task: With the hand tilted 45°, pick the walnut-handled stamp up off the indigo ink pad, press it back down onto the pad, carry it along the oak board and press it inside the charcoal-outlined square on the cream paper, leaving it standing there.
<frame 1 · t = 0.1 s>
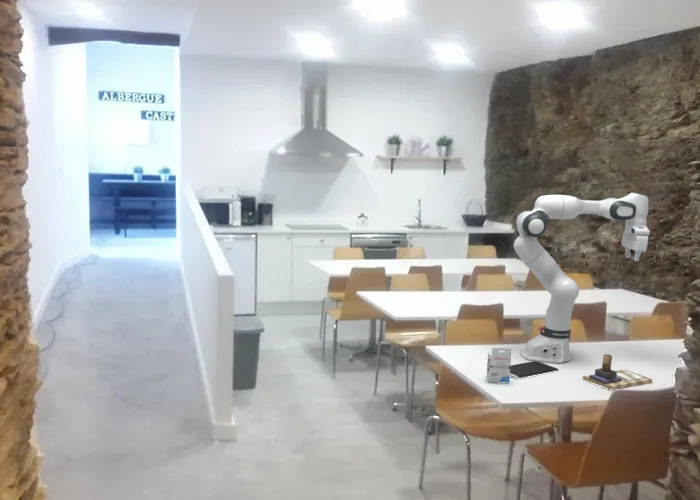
hand: (632, 259, 315), 48 cm above the table, tool pointing down, fingers open, 8 cm apart
ink box: (497, 381, 285), on the table
black flat rectangular slab: (526, 372, 301), on the table
stamp: (605, 376, 289), point 3 cm above the table, touching stamp board
stamp board: (617, 381, 293), on the table
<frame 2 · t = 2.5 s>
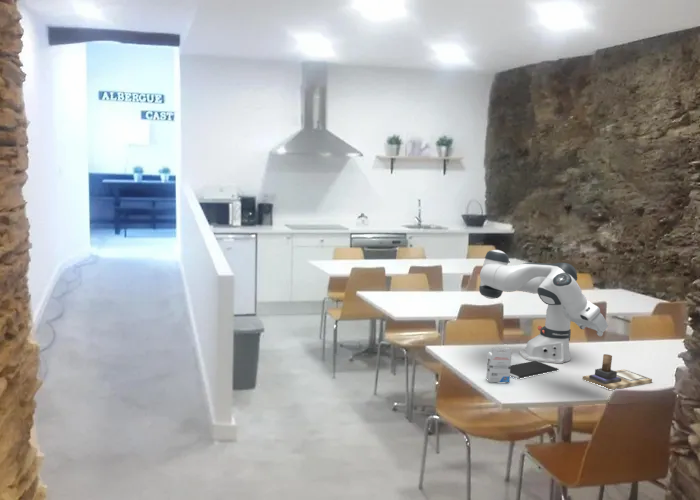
hand: (591, 331, 279), 24 cm above the table, tool tilted 40°, fingers open, 8 cm apart
nothing on the table moved.
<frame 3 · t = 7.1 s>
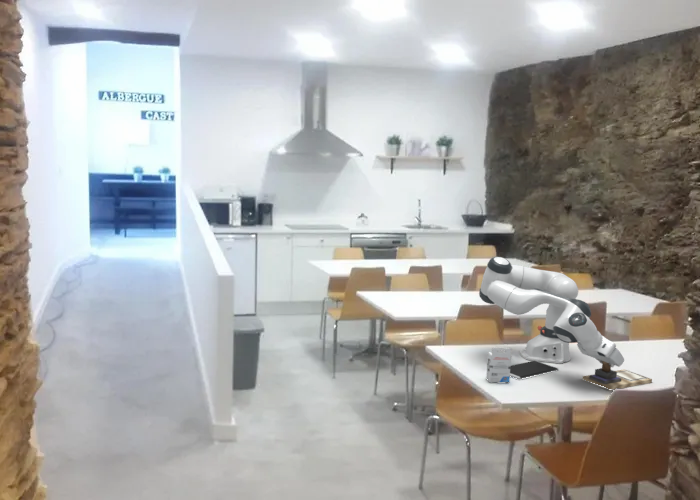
hand: (607, 364, 288), 8 cm above the table, tool tilted 45°, fingers closed on stamp, 3 cm apart
stamp: (605, 376, 289), point 3 cm above the table, touching gripper, stamp board
everything else where it was.
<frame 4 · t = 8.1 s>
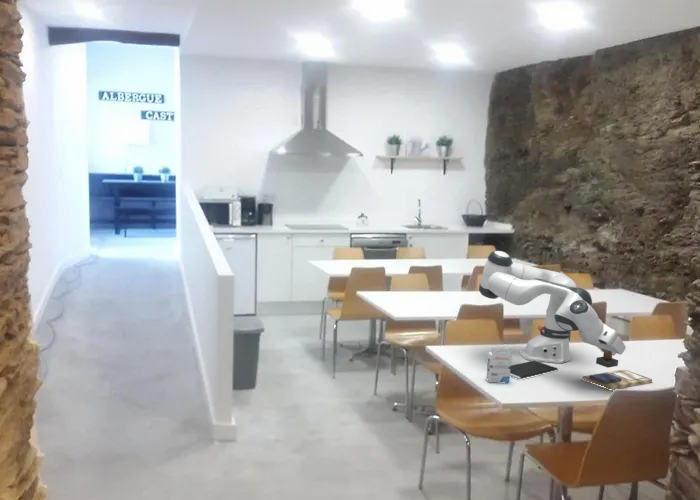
hand: (609, 352, 288), 13 cm above the table, tool tilted 45°, fingers closed on stamp, 3 cm apart
stamp: (606, 364, 288), point 8 cm above the table, touching gripper
everything else where it was.
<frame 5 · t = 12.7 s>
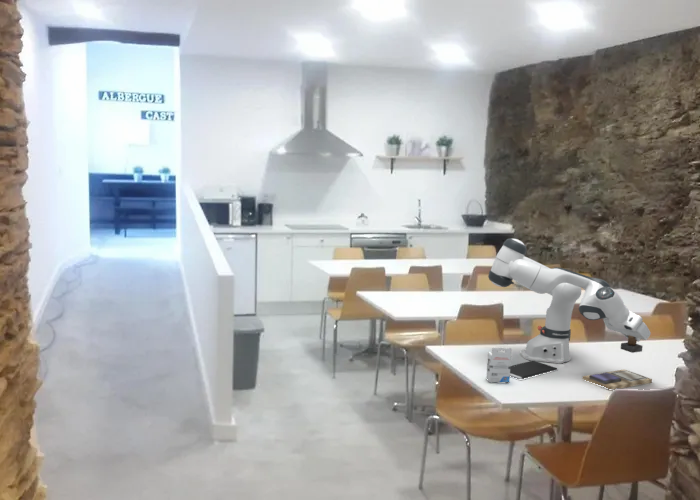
hand: (633, 338, 293), 18 cm above the table, tool tilted 45°, fingers closed on stamp, 3 cm apart
stamp: (631, 350, 294), point 13 cm above the table, touching gripper
everything else where it was.
when the fingers open (7 cm above the table, at t = 15.8 s): stamp stays where it is, resting on stamp board.
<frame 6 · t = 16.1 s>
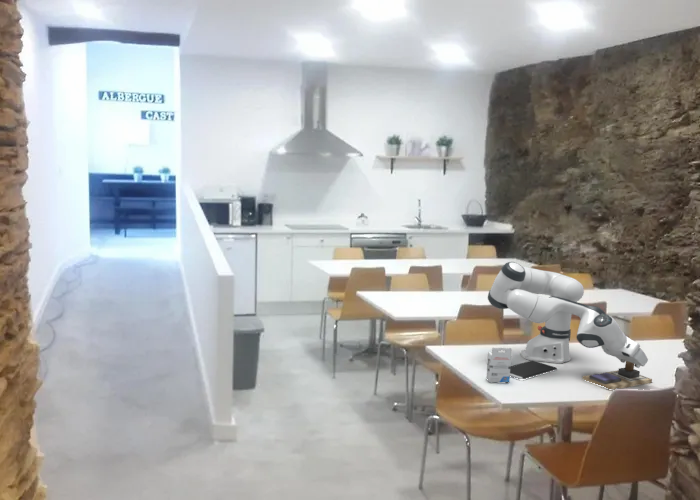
hand: (631, 363, 296), 7 cm above the table, tool tilted 45°, fingers open, 6 cm apart
stamp: (628, 375, 296), point 2 cm above the table, touching stamp board
everything else where it was.
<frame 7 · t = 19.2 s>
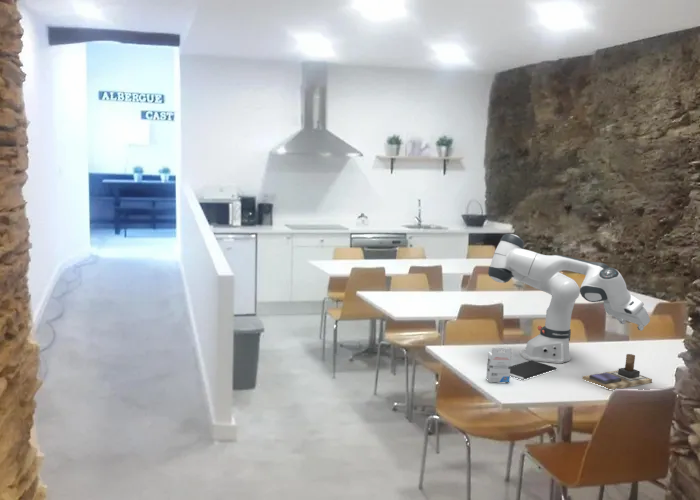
hand: (631, 326, 289), 24 cm above the table, tool tilted 40°, fingers open, 8 cm apart
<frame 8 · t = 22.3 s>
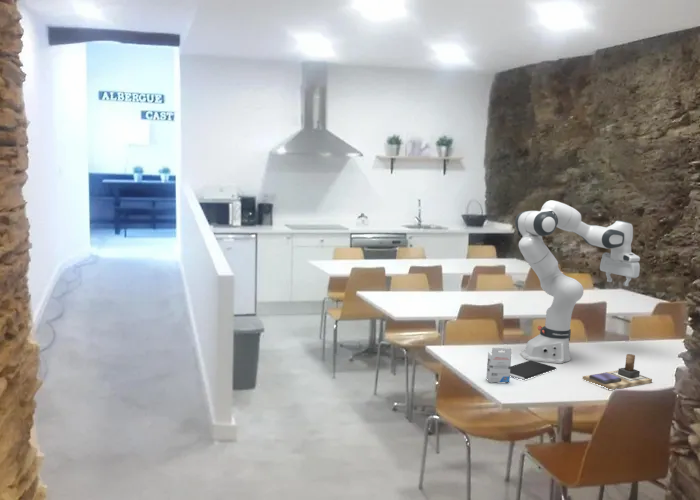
hand: (617, 283, 329), 34 cm above the table, tool pointing down, fingers open, 8 cm apart
at the end: stamp 0.1 cm from the target spot, point 1.6 cm above the table; stamp tilted 0°; the gripper is holding nothing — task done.
